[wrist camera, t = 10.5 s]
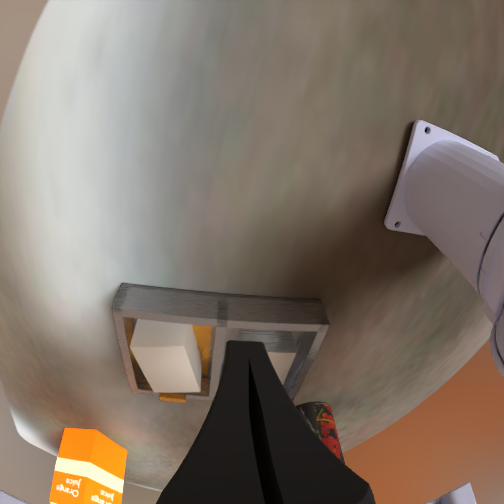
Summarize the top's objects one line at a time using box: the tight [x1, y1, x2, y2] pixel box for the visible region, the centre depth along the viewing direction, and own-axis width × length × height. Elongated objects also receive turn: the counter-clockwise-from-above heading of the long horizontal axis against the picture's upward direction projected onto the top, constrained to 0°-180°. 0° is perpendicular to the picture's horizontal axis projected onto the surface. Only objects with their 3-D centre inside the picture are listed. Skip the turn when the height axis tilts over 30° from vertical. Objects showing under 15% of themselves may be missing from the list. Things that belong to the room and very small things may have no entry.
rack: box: [112, 283, 330, 403], centre depth 24 cm, size 15×11×3 cm
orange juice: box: [49, 428, 127, 504], centre depth 30 cm, size 8×9×20 cm
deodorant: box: [296, 402, 345, 464], centre depth 27 cm, size 6×6×15 cm
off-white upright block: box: [130, 319, 202, 393], centre depth 22 cm, size 4×6×4 cm, turn 4°
